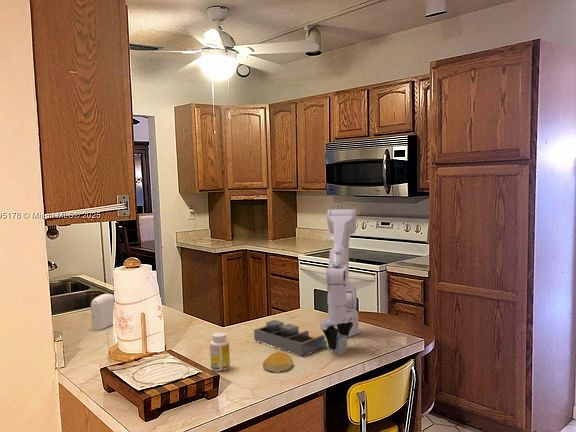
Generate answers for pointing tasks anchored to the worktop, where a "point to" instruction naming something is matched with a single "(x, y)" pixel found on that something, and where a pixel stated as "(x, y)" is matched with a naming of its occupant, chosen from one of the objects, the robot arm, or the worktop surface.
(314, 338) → the rack
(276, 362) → the bread roll
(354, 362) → the worktop surface
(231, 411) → the worktop surface
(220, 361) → the supplement bottle
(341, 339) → the grey block
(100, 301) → the photo printer
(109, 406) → the worktop surface
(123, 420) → the worktop surface
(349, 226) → the robot arm
